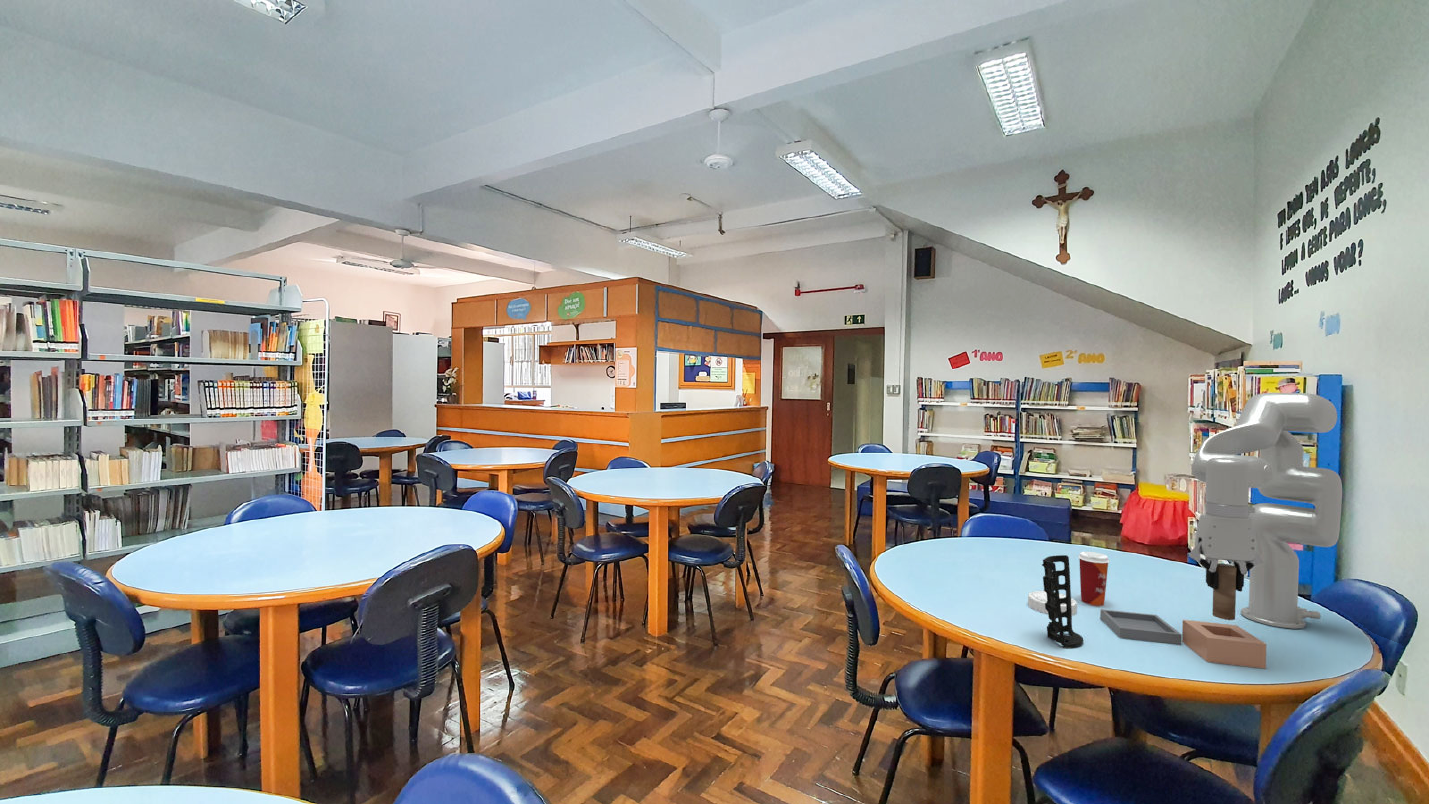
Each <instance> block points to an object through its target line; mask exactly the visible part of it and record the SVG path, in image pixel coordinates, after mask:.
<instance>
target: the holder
mask: <svg viewBox="0 0 1429 804" xmlns="http://www.w3.org/2000/svg"><path fill="white" fill-rule="evenodd" d="M1069 557H1070V556H1069V555H1067V554H1066V555H1064V554H1063V555H1062V554H1059V555H1051V556H1050V555H1049V556H1047V557H1045V558H1043V559H1042V564H1041V566H1042V567H1043V568H1044V569H1043V570H1044V575H1043V576H1042V582H1043V583H1042V584H1043V591H1045V592H1046V593H1047V603H1045V609H1046V610H1047V611H1048V614H1047V615H1048V619H1049V620H1050V621H1049V622H1048V624H1047V625H1046V634H1047V638H1049V639H1052V640H1054V641H1055V642H1056V643H1059V644H1061V646H1063V648H1065V649H1072V648H1074V647H1078V646H1081V645H1082V644H1084V638H1083V636H1082V635H1080V634H1079V633H1077V632H1075V631H1074V630H1073V619H1072V618H1073V615H1072V610H1071V598H1072V593H1071V588H1072V587H1071V571H1070V569H1071V568H1070V558H1069ZM1060 562H1061V563H1062V564H1063V567H1064V568H1063V569H1062V570H1057V567H1056V563H1060ZM1060 576H1061V577H1064V583H1061V584H1060V578H1059V577H1060ZM1061 590H1062V591H1065V595H1066V597H1065V598H1060V597H1059V593H1060V591H1061ZM1054 598H1055V599H1054ZM1061 604H1066V611H1065V612H1061ZM1063 618H1065V619H1066V624H1065V625H1064V624H1063ZM1057 620H1058V621H1057ZM1064 633H1068V635H1067V634H1064Z"/></svg>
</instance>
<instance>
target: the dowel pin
mask: <svg viewBox="0 0 1429 804" xmlns="http://www.w3.org/2000/svg"><path fill="white" fill-rule="evenodd" d="M1216 572H1217V573H1218V574H1219V577H1218V589H1217V590H1216V589H1213V588H1212V616H1213V617H1215V618H1218V619H1220V620H1226V621H1235V620H1236V598H1237V597H1236V596H1237V590H1236V567H1235V566H1233V564H1232V565H1231V564H1227V563H1219V562H1218V564H1217V567H1216Z"/></svg>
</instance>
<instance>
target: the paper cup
mask: <svg viewBox="0 0 1429 804" xmlns="http://www.w3.org/2000/svg"><path fill="white" fill-rule="evenodd" d="M1077 558H1078V561H1079V578H1080V579H1079V582H1080V599H1081V602H1082V603H1083V604H1086V605H1091V606H1095V607H1099V606H1104V605H1105V600H1106V599H1105V598H1106V590H1107V582H1108V581H1107V579H1108V568H1109V563H1110V560H1109V557H1108V555H1106V554H1103V553H1099V552H1094V551H1082V552H1080V553H1079V555H1078V557H1077Z"/></svg>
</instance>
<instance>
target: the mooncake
mask: <svg viewBox="0 0 1429 804" xmlns="http://www.w3.org/2000/svg"><path fill="white" fill-rule="evenodd" d="M1059 597H1060V598H1065V597H1066V594H1064V593H1060V592H1059ZM1054 599H1055V598H1054ZM1045 603H1047V593H1046V592H1045V591H1044V590H1039V591H1036V590H1035V591H1031V592H1030V593H1028V596H1027V604H1028V605H1027V606H1028V607H1029V608H1031V609H1033V610H1034V611H1036V612H1039V613H1042V614H1046V615H1048V611H1047V610H1046V609H1045ZM1071 610H1072V616H1076V614H1077V613H1078V602H1077V601H1076V600H1075V599H1074V598H1073V597H1071ZM1065 611H1066V604H1061V612H1065Z"/></svg>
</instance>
